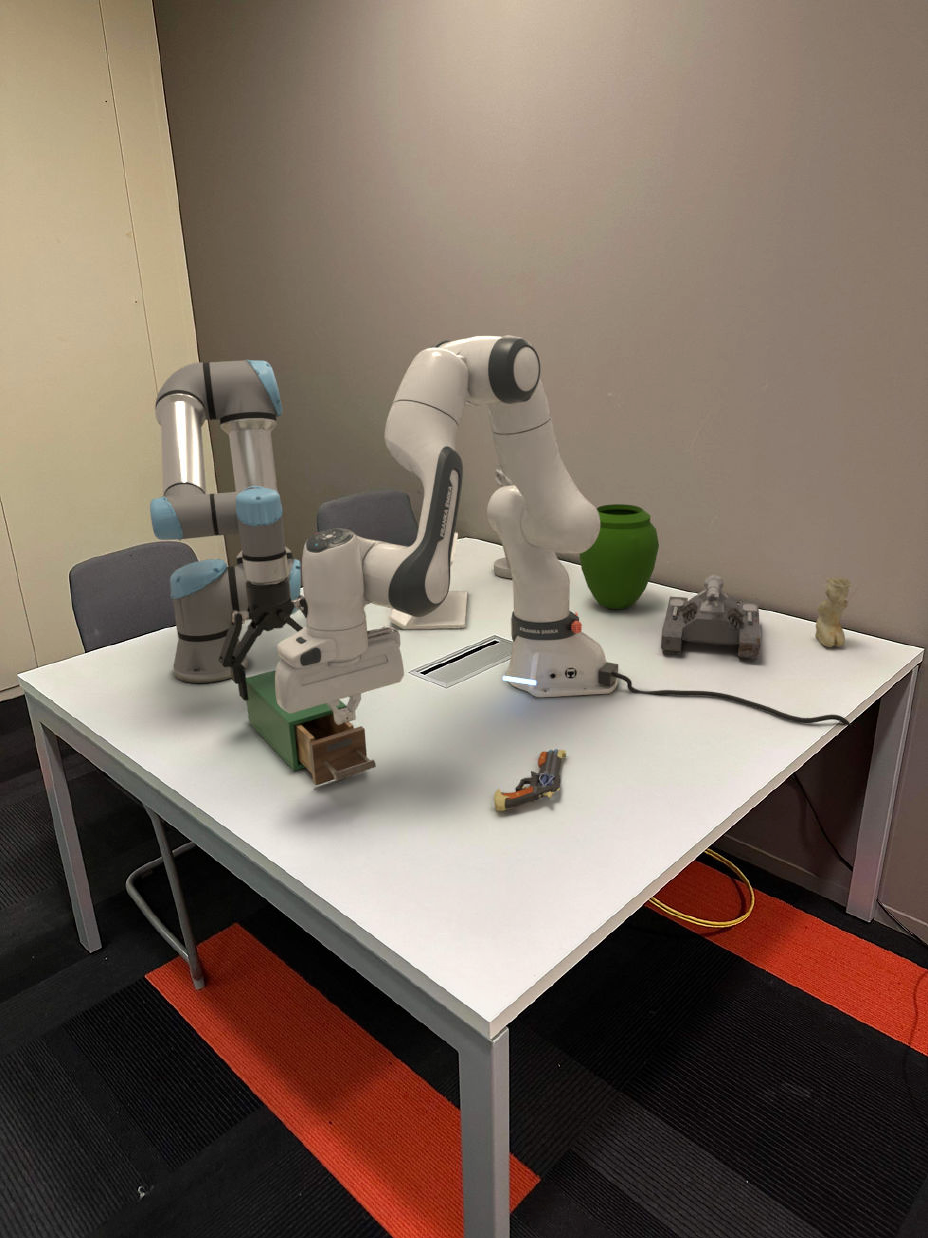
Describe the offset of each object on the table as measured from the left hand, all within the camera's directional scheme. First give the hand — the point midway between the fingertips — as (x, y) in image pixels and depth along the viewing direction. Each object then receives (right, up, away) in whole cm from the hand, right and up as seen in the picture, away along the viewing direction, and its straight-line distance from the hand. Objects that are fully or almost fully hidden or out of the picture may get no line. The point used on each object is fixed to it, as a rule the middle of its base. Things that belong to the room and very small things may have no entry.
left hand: (279, 688), depth 157 cm
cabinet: (+4, -9, -3) cm, 10 cm away
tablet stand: (+26, +15, +57) cm, 64 cm away
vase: (+72, +16, +57) cm, 93 cm away
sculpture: (+114, +7, +30) cm, 118 cm away
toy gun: (+45, -14, -20) cm, 51 cm away
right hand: (+16, -3, -25) cm, 29 cm away
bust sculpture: (+51, +25, +82) cm, 100 cm away
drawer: (+10, -11, -12) cm, 19 cm away
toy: (+89, +8, +35) cm, 96 cm away
